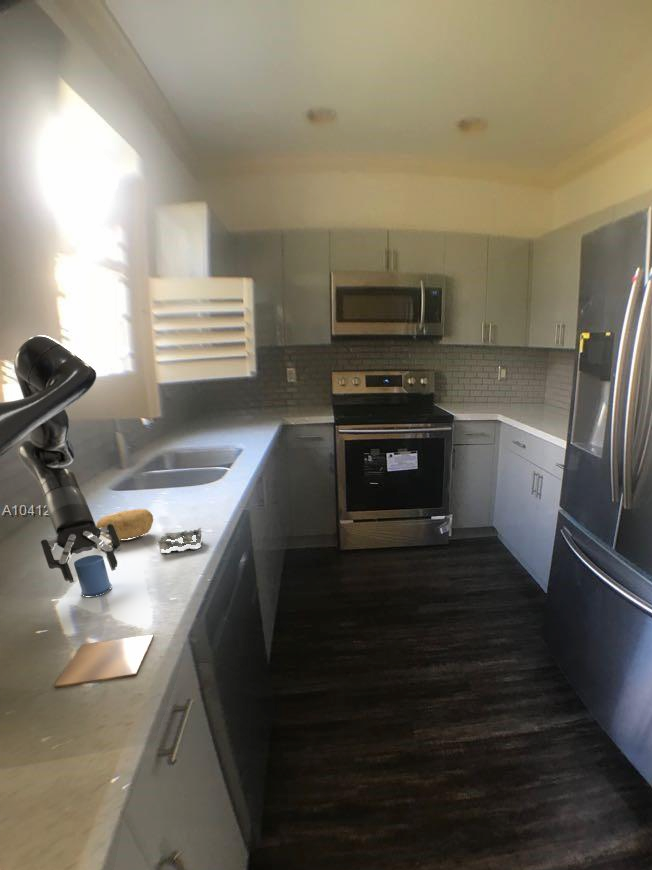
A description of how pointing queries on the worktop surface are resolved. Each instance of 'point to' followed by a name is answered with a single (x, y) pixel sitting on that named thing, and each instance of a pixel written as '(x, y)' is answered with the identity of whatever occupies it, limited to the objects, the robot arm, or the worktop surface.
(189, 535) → the egg carton
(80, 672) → the mat
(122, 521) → the potato
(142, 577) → the worktop surface
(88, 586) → the cap
